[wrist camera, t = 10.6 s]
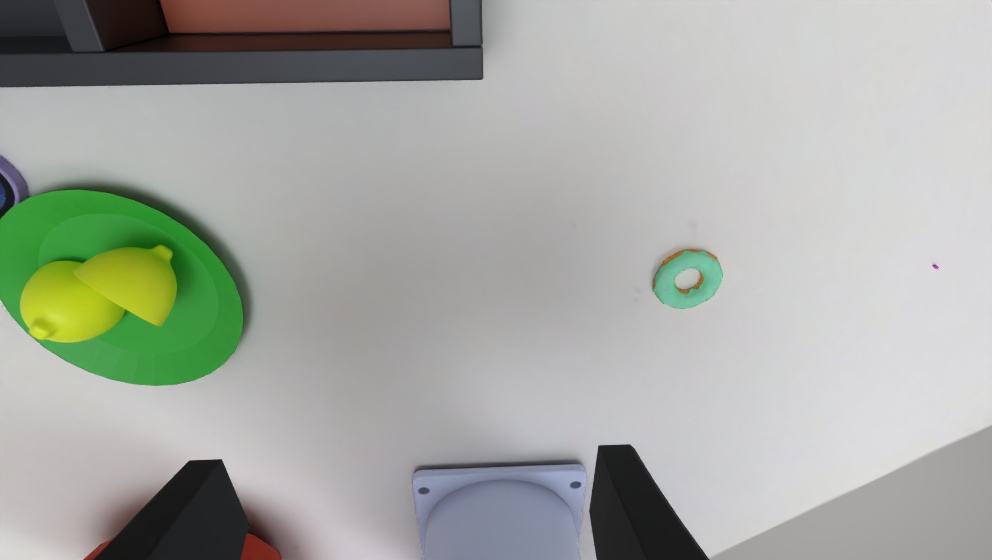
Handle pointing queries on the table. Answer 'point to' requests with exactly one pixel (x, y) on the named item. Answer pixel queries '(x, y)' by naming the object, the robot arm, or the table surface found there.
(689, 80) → the table surface
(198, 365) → the green plate
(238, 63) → the tray
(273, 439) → the table surface
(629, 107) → the table surface
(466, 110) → the table surface
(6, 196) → the smartphone
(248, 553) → the apple
